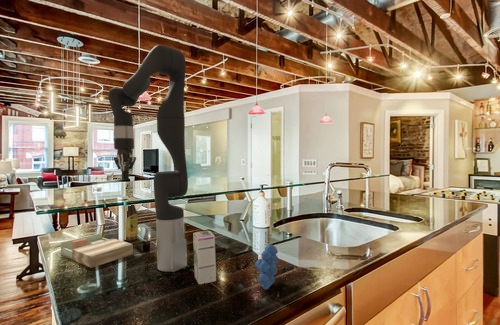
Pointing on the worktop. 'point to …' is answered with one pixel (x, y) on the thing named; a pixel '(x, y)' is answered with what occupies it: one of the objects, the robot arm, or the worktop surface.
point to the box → (67, 245)
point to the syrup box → (204, 257)
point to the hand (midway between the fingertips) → (125, 179)
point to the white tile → (95, 242)
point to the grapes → (267, 266)
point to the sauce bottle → (132, 223)
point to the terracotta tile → (79, 243)
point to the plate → (102, 252)
